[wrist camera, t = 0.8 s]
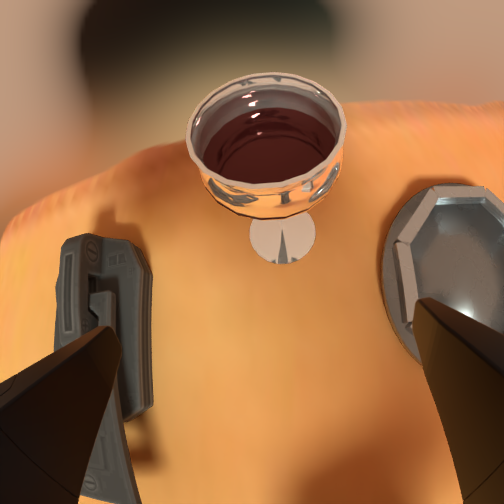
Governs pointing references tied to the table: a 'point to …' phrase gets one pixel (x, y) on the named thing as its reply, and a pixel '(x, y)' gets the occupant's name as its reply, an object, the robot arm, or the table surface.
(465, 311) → the rosette plate
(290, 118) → the wineglass
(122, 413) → the zipper pull
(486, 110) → the table surface
